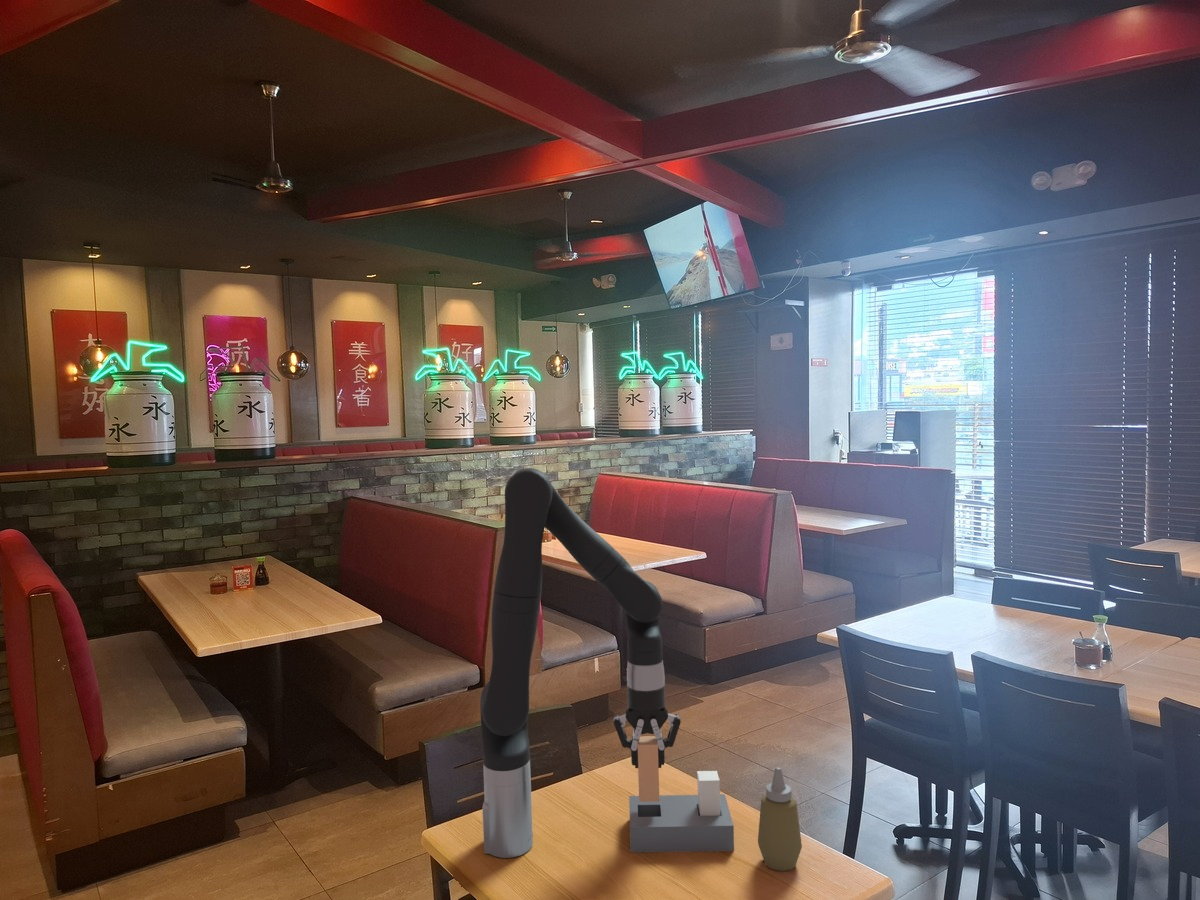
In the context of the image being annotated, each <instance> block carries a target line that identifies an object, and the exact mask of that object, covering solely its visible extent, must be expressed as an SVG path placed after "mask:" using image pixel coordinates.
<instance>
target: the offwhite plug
mask: <svg viewBox="0 0 1200 900" xmlns="http://www.w3.org/2000/svg"><path fill="white" fill-rule="evenodd" d="M696 772H697V775H696V776H697V778H696V779H697V795H698V814H699V816H720V794H721V787H720V786H721V783H720V777H719V774H718V770H697V771H696Z"/></svg>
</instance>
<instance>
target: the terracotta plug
mask: <svg viewBox="0 0 1200 900" xmlns="http://www.w3.org/2000/svg"><path fill="white" fill-rule="evenodd" d="M659 769H660V768H658V743H657V741H656V738H655V735H654V736H653V735H647V736H646V735H645V736H644V735H643V736H642V735H641V736H640V740H639V743H638V768H637V774H638V775H637V777H638V780H637V781H638V796H639V802H653V801H659V795H660V779H659V778H660V773H659V772H660V771H659Z"/></svg>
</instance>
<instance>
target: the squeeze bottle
mask: <svg viewBox="0 0 1200 900" xmlns="http://www.w3.org/2000/svg"><path fill="white" fill-rule="evenodd" d="M792 795H793V794H792V787H791V786H790V785H788V784H786V783H785V778H784V774H783V770H782V768H781V767H775V768H774V773H773V777H772V781H771V782H770V783H768V784H767V785H766V786H765V795H764V796H762V798H761V800H760V808H759V809H760V810H759V812H760V813H759V822H758V835H757V845H758V848H759V851H760V853H761V856H762V859H763V861H764V864H765V865H766V866H767V867H768V868H770V869H772V870H775V871H780V872H787V871H791V870H793V869H794V868H796V865H797V863H798V859H799V858H800V853H801V851H802V849H803V843H802V837H801V830H800V829H801V828H800V821H799V811H798V804H797V800H796V799H795V798H794V797H792Z"/></svg>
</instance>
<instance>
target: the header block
mask: <svg viewBox="0 0 1200 900" xmlns="http://www.w3.org/2000/svg"><path fill="white" fill-rule="evenodd" d="M726 797H727V796H726V794H724V793H723V794H721V793H720V816H699V814H698V794H675V795H674V794H673V795H672V794H670V795H669V794H667V795H660V794H659V801H653V802H639V795H629V796H628V798H629V799H628V803H629V805H628V808H629V837H630V838H629V841H630V847H629V848H630V853H669V852H670V853H671V852H672V853H675V852H676V853H680V852H681V853H682V852H684V853H686V852H689V853H691V852H734V851H735V840H734V839H735V835H734V834H735V833H734V831H735V830H734V829H735V826H734V822H733V819H732V816H731V811H730V808H729V804H728V801H727V800H728V799H727V798H726Z"/></svg>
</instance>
